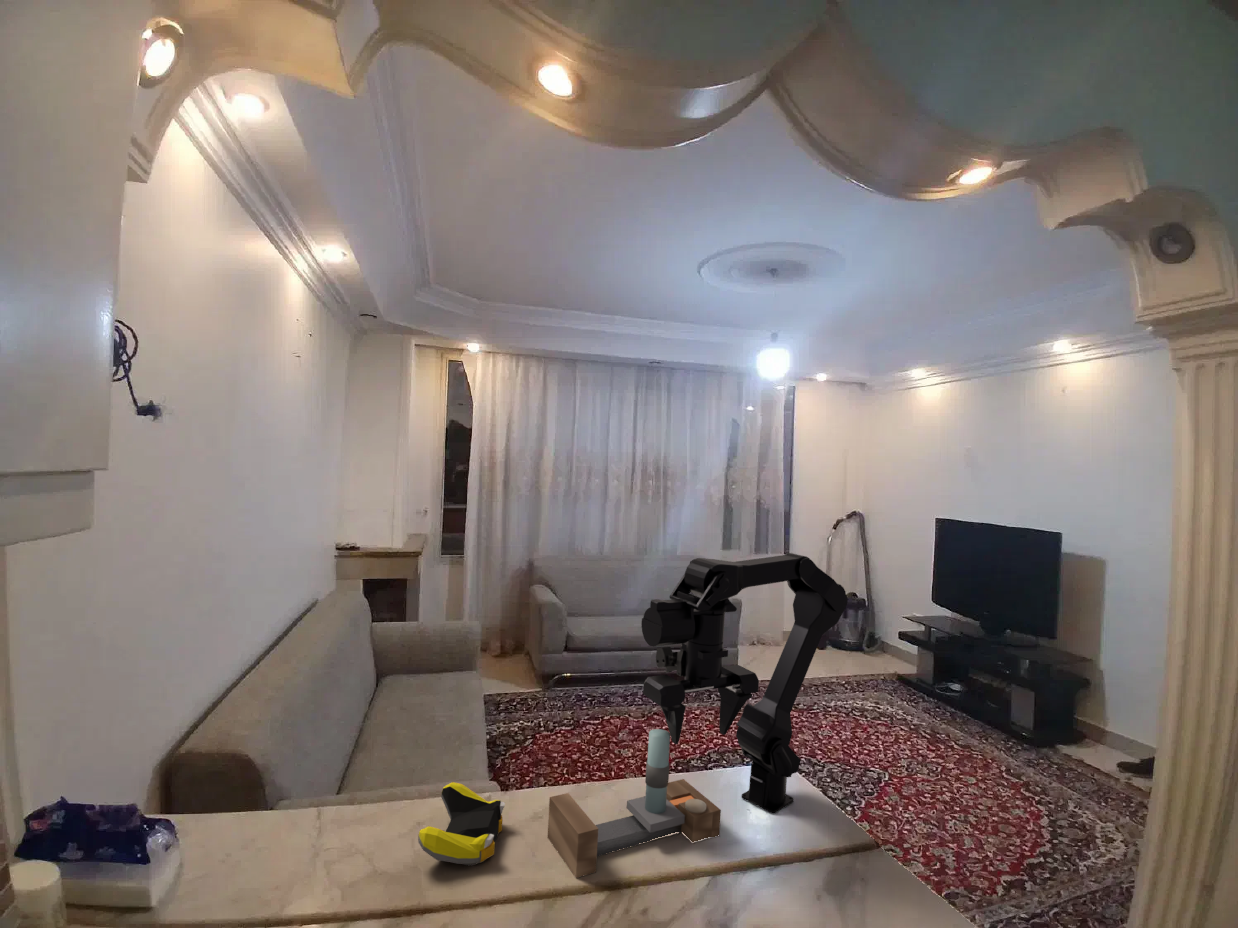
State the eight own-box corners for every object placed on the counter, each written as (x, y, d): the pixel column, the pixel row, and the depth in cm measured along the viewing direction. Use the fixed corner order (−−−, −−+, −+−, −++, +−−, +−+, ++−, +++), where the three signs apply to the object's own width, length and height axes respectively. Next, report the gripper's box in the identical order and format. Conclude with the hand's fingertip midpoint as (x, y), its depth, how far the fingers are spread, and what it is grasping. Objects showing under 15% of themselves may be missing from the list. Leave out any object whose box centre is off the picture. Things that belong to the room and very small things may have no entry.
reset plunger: (690, 804, 102) (690, 795, 102) (695, 808, 101) (695, 799, 101) (668, 809, 100) (669, 800, 100) (673, 814, 99) (674, 805, 99)
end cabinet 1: (566, 832, 97) (568, 792, 96) (595, 872, 88) (598, 828, 88) (547, 837, 95) (549, 796, 95) (575, 877, 86) (578, 833, 86)
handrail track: (687, 813, 104) (688, 801, 103) (702, 826, 100) (703, 813, 100) (561, 846, 93) (562, 833, 93) (573, 862, 89) (574, 848, 89)
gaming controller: (412, 875, 85) (487, 879, 85) (414, 834, 85) (489, 838, 85) (443, 812, 100) (507, 816, 100) (445, 777, 100) (509, 781, 100)
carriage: (659, 799, 103) (663, 721, 102) (684, 823, 96) (689, 739, 96) (626, 808, 100) (631, 727, 100) (650, 832, 94) (654, 746, 93)
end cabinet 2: (682, 802, 107) (683, 775, 107) (719, 835, 98) (721, 806, 98) (656, 809, 104) (658, 781, 104) (692, 843, 95) (694, 813, 95)
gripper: (720, 622, 113) (715, 710, 113) (628, 631, 104) (622, 727, 104) (763, 640, 103) (758, 736, 103) (665, 651, 94) (659, 757, 94)
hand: (699, 738), depth 102 cm, fingers open, 9 cm apart
